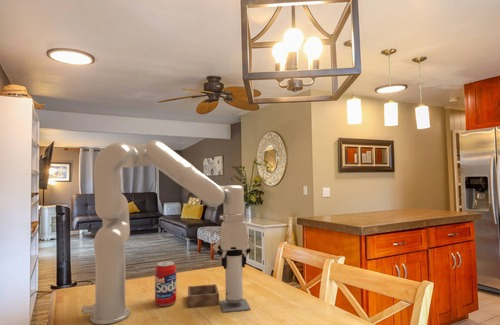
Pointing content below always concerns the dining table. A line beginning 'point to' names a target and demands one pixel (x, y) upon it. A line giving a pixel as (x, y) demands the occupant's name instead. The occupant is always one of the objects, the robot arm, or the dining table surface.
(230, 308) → the rubber mat
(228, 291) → the travel mug
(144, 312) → the dining table surface
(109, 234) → the robot arm
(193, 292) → the brown wooden tray
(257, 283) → the dining table surface
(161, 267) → the soda can
